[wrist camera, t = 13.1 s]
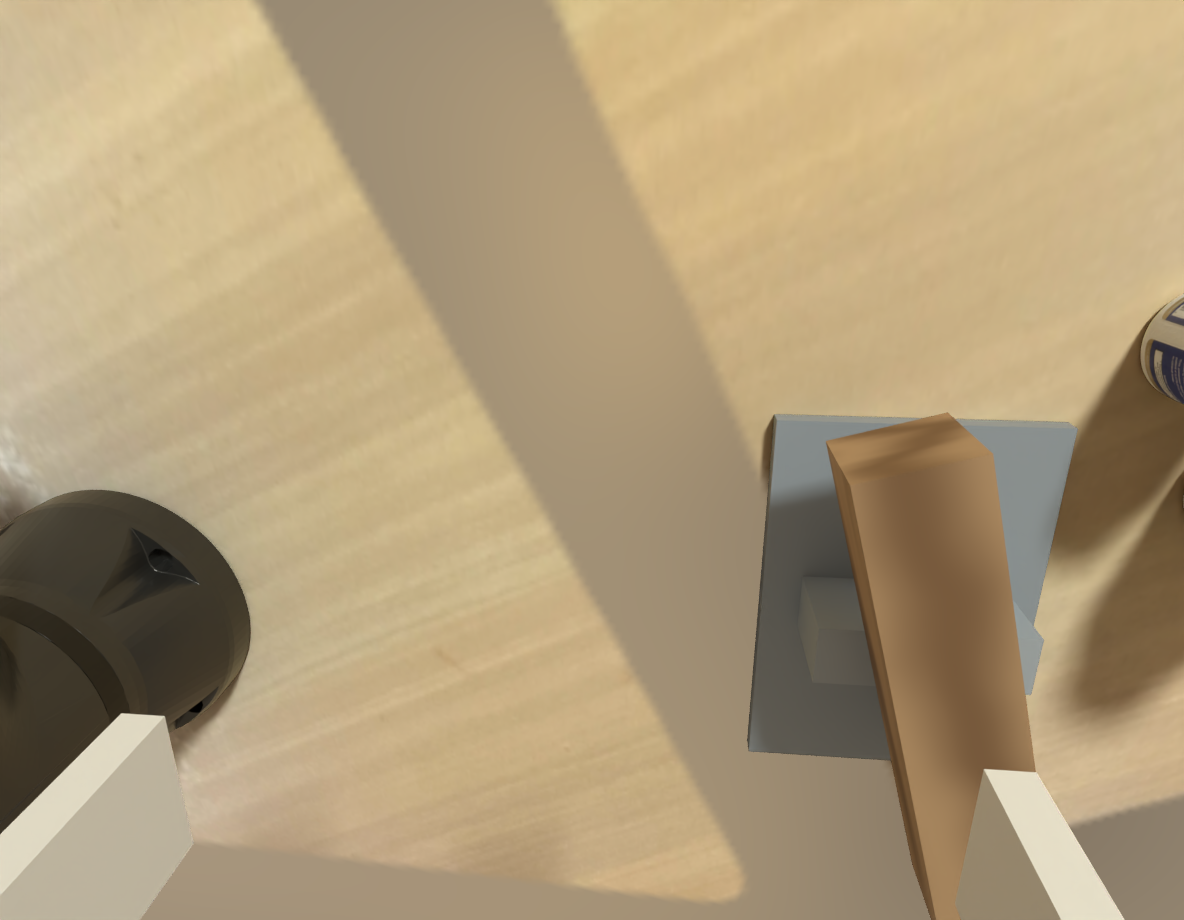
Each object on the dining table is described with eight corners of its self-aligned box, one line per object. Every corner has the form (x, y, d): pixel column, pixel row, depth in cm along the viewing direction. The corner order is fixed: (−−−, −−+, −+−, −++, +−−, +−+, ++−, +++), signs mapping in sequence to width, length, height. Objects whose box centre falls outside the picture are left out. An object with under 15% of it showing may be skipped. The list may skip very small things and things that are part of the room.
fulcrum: (747, 739, 47) (757, 818, 41) (774, 414, 40) (791, 455, 34) (995, 755, 46) (1040, 838, 40) (1067, 422, 38) (1135, 466, 33)
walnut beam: (912, 864, 41) (942, 953, 37) (825, 440, 34) (850, 485, 29) (1013, 850, 40) (1058, 940, 36) (947, 412, 33) (993, 453, 28)
